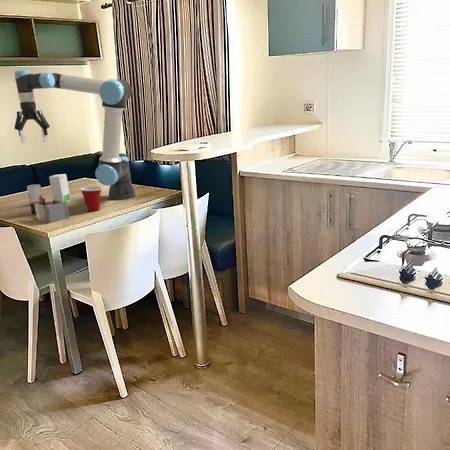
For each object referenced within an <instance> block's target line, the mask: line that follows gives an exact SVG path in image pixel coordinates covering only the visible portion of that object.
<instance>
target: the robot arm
mask: <svg viewBox="0 0 450 450" xmlns="http://www.w3.org/2000/svg"><path fill="white" fill-rule="evenodd" d="M14 80H15V81H14V82H15V84H16V89H17V95H18V100H19V106H20V110H19V111H16V118H15V124H14V130H17V131H18V136H19V137H20V140H21V143H22V144H24V143H26V142H27V140H26V133H25V129H24V126H25V125H26V124H27V121H29V120H33V121H35V123H36V124H37V125H38V126H39V127H40V128H41V130H40V131H41V135H42V141H43V143H46V142H47V143H48V141H49V140H48V128H51V126H50V124H49V123H48V121H47V119H46V118H45V116H44V114H43V111H42V110H41V109H40V110H39V109H38V110H37V104H36V101H35V95H34V94H35V93H34V90H36V89H37V90H39V89H61V90H68V91H75V92H80V93H87V94H94V95H99V97H100V99H101V106H102V108H103V109H104V118H103V119H104V120H103V138H102V154H101V156H100V157H99V159H98V166H97V167H96V169H95V174H94V175H95V178H96V180H97V182H99V183H100V184H101V185H103V186H108V187H109V191H108V199H109V200H114V201H116V200H127V199H130V198H134V197H135V196H136V195H137V194H136V193H137V192H136V190H135V188H134V186H133V185H134V184H132V179H131V178H132V177H131V171H130V164H129V163H130V162H129V158H128V157H127V156H123V155H122V156H120V148H121V132H122V131H121V130H122V116H123V111H124V110H126V103H127V101H128V100H130V98H131V97H132V93H133V89H132V86H131V85H130V83H129V82H128V81H126V80H124V79H121V78H119V79H111V78H110V79H108V80H103V79H98V78H97V79H96V78H89V77H82V76H77V75H76V76H75V75H67V74H61V73H58V72H39V73H31V71H30V70H27V69H24V70H23V69H22V70H15V71H14Z"/></svg>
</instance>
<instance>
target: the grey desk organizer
mask: <svg viewBox="0 0 450 450" xmlns="http://www.w3.org/2000/svg"><path fill="white" fill-rule="evenodd" d="M67 203H68V202H64V201H60V200H57V199H53V198H52V204H49V205H50V206H44V205H41V204H38V203H36V204H34V206H35V211H36V215H35V216H36V220H37V221H40V222H43V223H46V224H51V223H55V222H58V221H62V220H66V219H69V218H70V216H69V209H68V204H67Z"/></svg>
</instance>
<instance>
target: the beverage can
mask: <svg viewBox="0 0 450 450" xmlns="http://www.w3.org/2000/svg"><path fill="white" fill-rule="evenodd" d="M26 191H27V195H28V199H29V200H28V201H29V205H30V210H31V215H33V216H36V211H35V206H34V204H36V203H38V204H41V205H42V200H41V198H44V197H43V191H42V187H41V184H36V183H34V184H30V185H27V186H26Z"/></svg>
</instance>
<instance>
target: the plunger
mask: <svg viewBox="0 0 450 450" xmlns="http://www.w3.org/2000/svg"><path fill="white" fill-rule="evenodd" d="M41 200H42V205H44V206H50V205H51V204H48V205H46V204H47V203H46V200H45V197H43V198H41Z"/></svg>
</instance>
